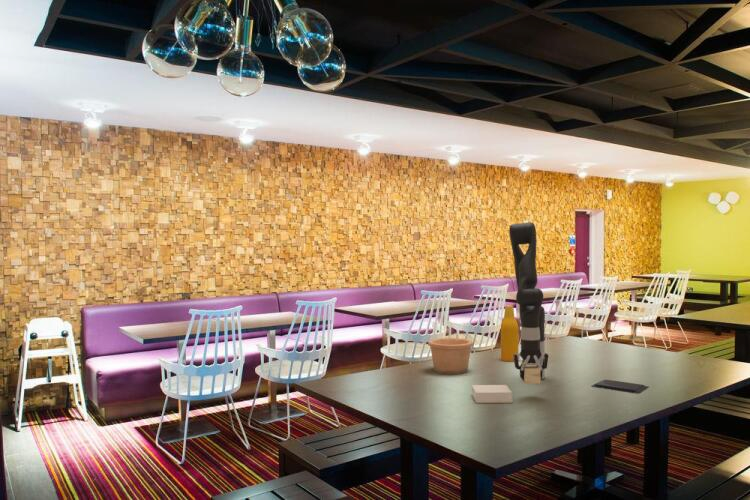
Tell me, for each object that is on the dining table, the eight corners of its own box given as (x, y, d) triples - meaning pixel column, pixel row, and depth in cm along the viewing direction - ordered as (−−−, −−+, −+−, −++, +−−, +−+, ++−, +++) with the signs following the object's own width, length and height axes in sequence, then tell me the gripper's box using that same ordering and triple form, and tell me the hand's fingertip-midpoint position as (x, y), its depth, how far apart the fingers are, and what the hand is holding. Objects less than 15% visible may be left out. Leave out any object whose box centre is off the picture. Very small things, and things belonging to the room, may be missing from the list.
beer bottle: (497, 359, 306) (496, 305, 306) (511, 357, 310) (510, 304, 310) (508, 362, 298) (507, 307, 297) (522, 360, 302) (521, 306, 301)
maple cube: (521, 379, 232) (521, 365, 232) (536, 379, 232) (536, 365, 232) (525, 383, 226) (525, 368, 226) (540, 383, 226) (540, 368, 226)
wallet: (589, 383, 245) (603, 377, 256) (589, 388, 245) (603, 381, 256) (638, 391, 231) (650, 384, 242) (638, 395, 231) (650, 388, 242)
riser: (471, 394, 234) (471, 385, 234) (506, 394, 233) (505, 384, 233) (476, 402, 222) (476, 392, 222) (512, 402, 221) (512, 392, 221)
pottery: (481, 372, 274) (481, 343, 274) (441, 377, 266) (441, 346, 266) (459, 364, 294) (458, 336, 294) (421, 368, 286) (420, 339, 286)
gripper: (545, 335, 232) (546, 376, 233) (510, 336, 233) (511, 377, 233) (550, 339, 225) (551, 381, 225) (514, 339, 225) (515, 381, 226)
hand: (531, 379), depth 229 cm, fingers closed on maple cube, 6 cm apart
